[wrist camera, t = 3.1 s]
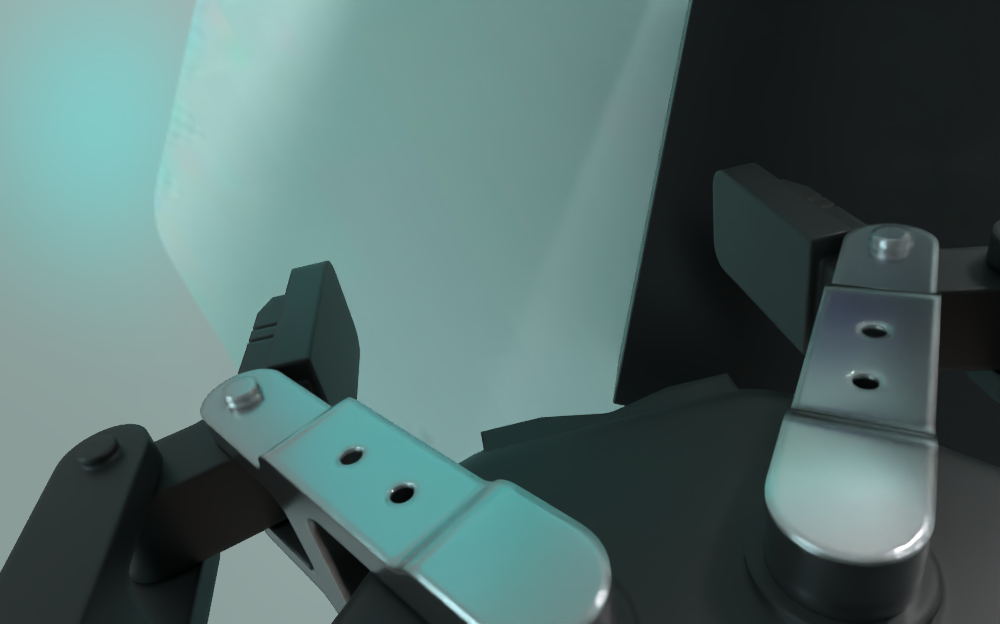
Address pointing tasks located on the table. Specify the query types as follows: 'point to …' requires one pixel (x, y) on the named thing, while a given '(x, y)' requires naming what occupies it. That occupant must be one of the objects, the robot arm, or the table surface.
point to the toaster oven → (815, 171)
